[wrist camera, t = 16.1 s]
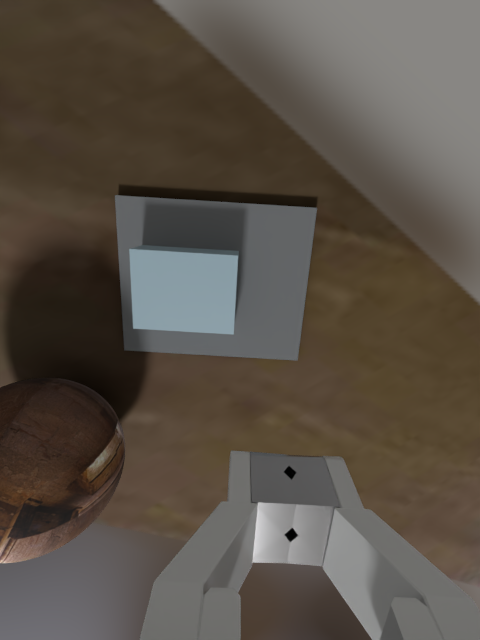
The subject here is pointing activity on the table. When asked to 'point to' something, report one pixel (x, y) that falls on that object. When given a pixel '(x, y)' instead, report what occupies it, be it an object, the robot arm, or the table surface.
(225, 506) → the robot arm
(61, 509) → the wooden sphere
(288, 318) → the mat
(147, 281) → the block
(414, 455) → the table surface
